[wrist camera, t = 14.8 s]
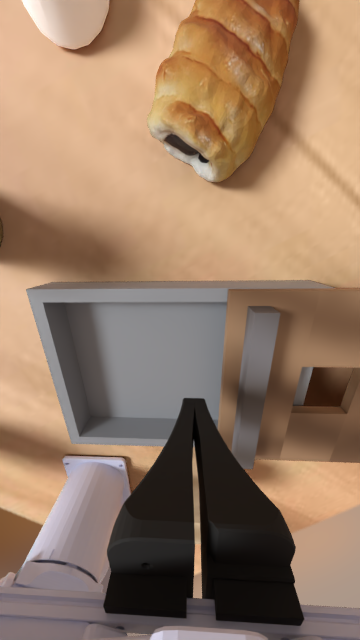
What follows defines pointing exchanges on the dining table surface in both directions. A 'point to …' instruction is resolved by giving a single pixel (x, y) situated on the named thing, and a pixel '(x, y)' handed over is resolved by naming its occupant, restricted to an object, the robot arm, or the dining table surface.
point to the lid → (289, 374)
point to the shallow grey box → (137, 353)
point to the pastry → (222, 82)
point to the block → (196, 500)
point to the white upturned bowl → (68, 20)
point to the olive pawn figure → (1, 232)
